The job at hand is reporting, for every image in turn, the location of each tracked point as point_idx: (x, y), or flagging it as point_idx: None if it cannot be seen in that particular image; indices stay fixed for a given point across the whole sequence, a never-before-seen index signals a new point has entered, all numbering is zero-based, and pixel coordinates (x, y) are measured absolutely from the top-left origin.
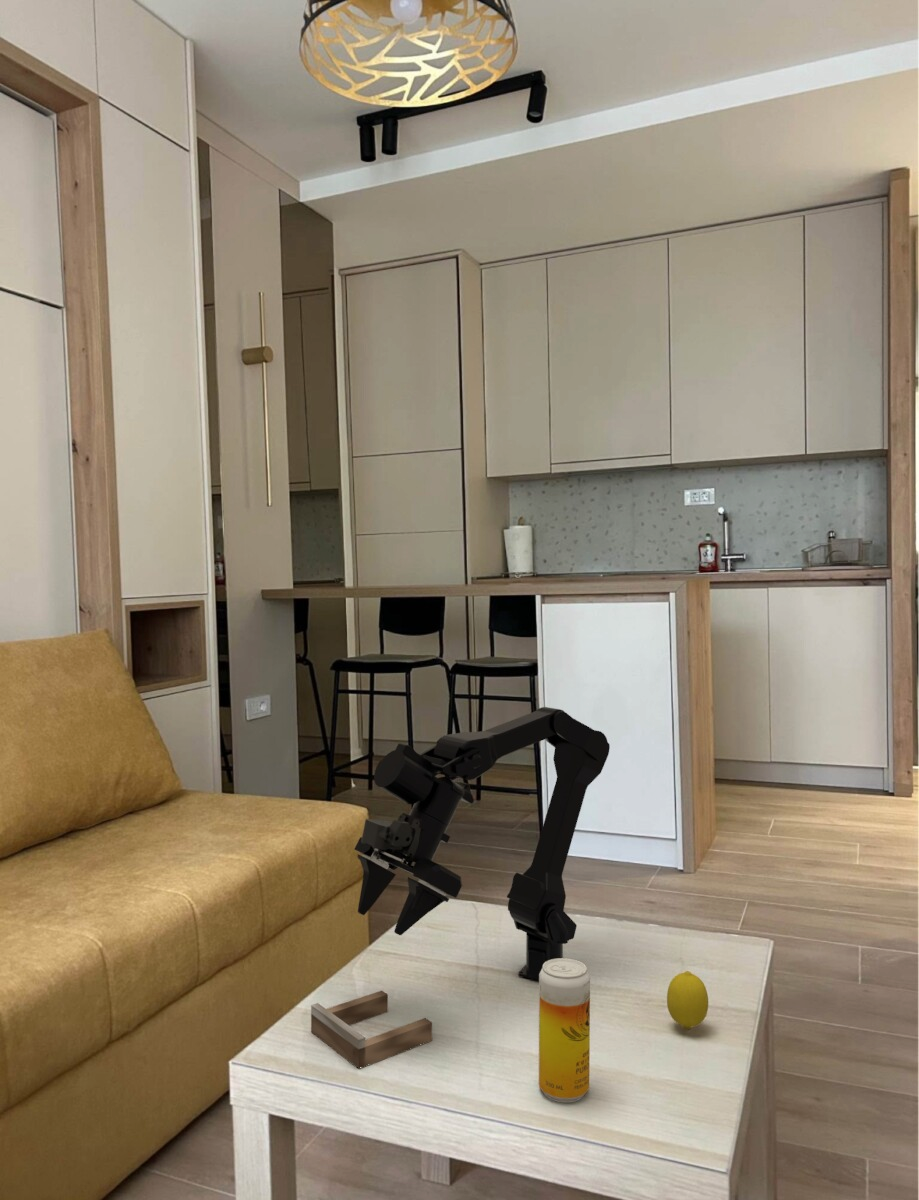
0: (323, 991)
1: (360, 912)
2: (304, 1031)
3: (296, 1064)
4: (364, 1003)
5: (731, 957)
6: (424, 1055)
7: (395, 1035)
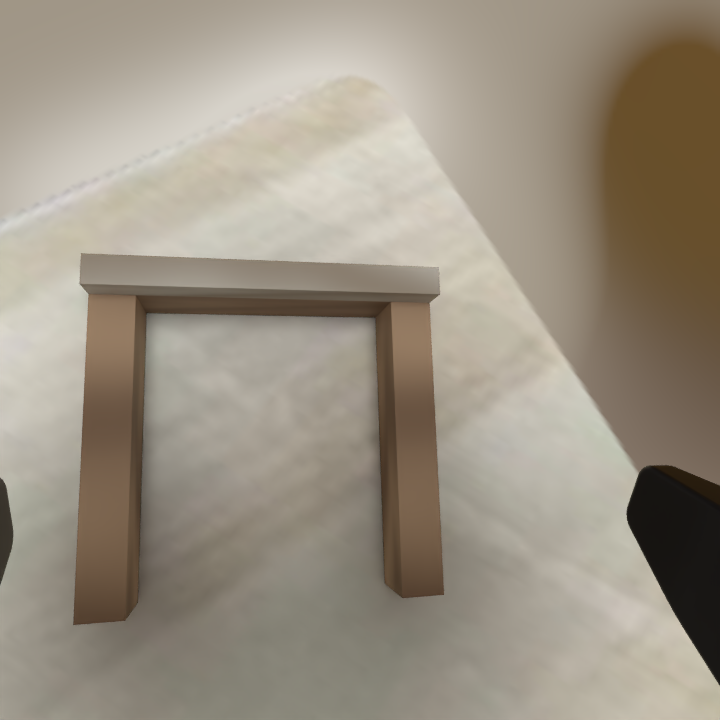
0: (632, 470)
1: (642, 480)
2: None
3: (261, 162)
4: (396, 482)
5: None
6: (23, 520)
7: (84, 432)
